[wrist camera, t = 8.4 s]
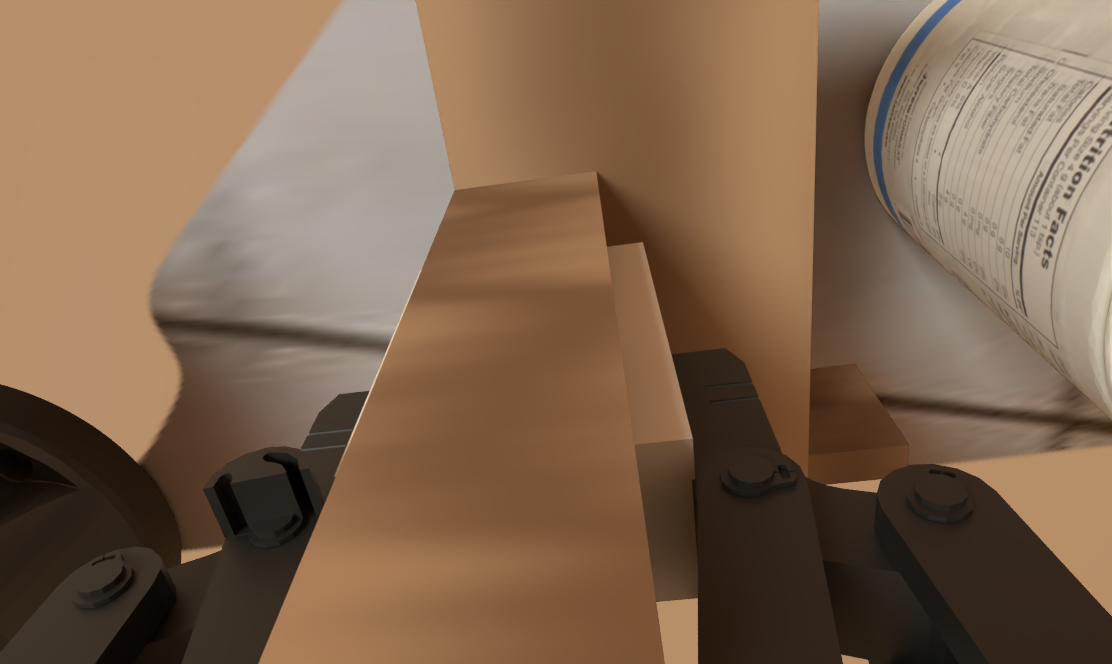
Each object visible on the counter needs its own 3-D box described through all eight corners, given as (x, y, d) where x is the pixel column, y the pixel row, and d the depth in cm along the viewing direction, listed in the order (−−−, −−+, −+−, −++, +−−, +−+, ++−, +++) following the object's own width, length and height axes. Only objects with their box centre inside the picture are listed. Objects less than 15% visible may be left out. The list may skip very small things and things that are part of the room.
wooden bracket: (528, 427, 24) (476, 1166, 10) (442, -28, 18) (-46, 145, 3) (853, 392, 23) (1319, 1133, 9) (880, -95, 17) (2494, -220, 3)
